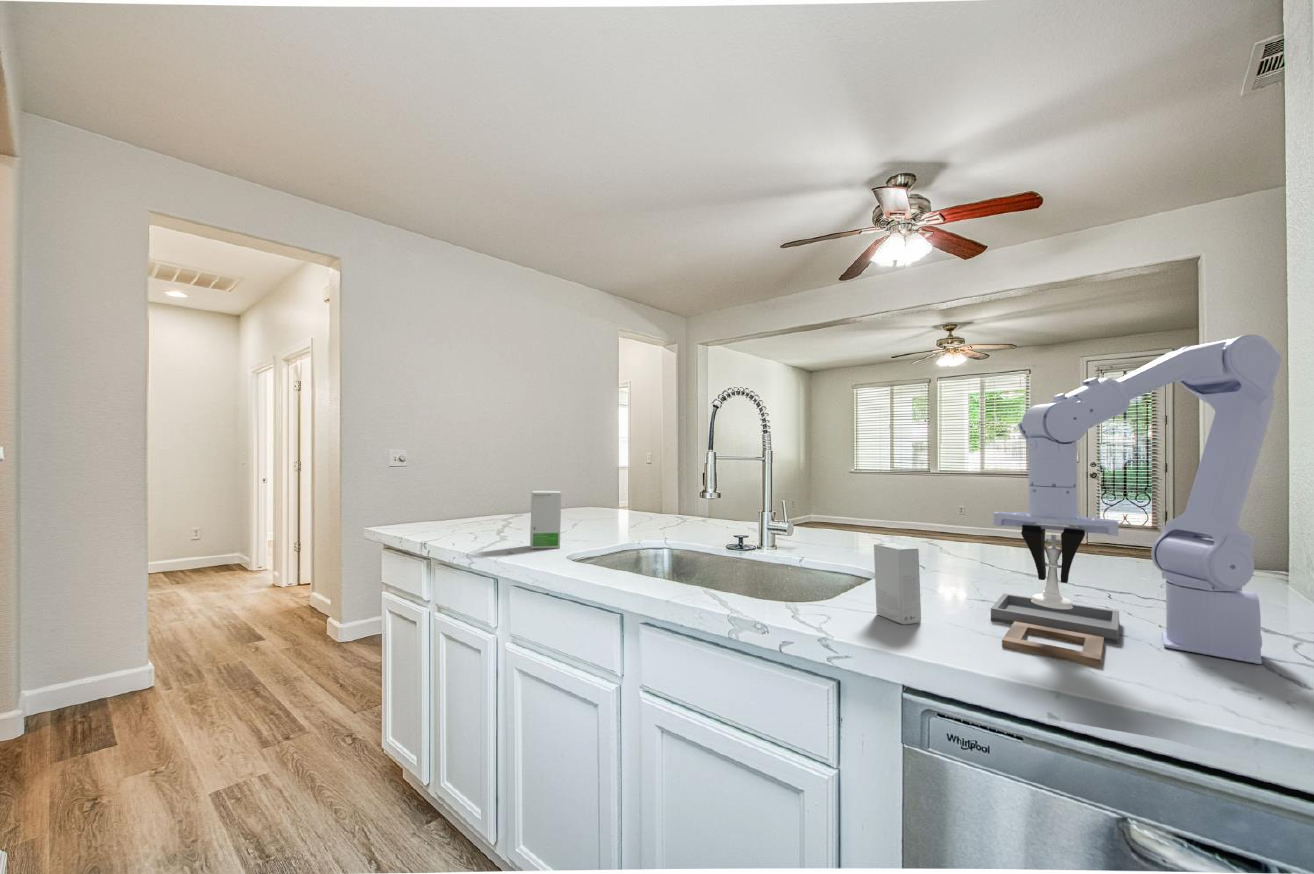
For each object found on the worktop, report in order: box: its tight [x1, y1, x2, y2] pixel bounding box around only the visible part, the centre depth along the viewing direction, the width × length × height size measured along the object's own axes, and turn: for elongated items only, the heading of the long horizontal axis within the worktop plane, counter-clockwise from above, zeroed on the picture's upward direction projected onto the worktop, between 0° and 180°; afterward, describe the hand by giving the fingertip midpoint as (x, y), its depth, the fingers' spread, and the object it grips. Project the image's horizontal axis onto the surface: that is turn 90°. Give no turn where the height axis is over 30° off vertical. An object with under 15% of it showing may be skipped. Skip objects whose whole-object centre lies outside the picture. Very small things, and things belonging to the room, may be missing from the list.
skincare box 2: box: [873, 542, 922, 625], centre depth 92 cm, size 6×4×12 cm
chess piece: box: [1031, 534, 1073, 609], centre depth 79 cm, size 5×5×10 cm
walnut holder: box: [1001, 621, 1105, 668], centre depth 79 cm, size 11×11×1 cm
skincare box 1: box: [529, 490, 562, 550], centre depth 155 cm, size 8×7×16 cm
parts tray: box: [990, 593, 1120, 645], centre depth 90 cm, size 16×12×2 cm
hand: (1053, 580), depth 80 cm, fingers closed on chess piece
